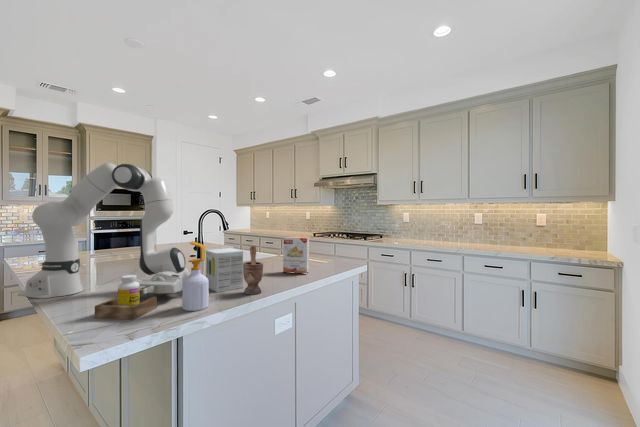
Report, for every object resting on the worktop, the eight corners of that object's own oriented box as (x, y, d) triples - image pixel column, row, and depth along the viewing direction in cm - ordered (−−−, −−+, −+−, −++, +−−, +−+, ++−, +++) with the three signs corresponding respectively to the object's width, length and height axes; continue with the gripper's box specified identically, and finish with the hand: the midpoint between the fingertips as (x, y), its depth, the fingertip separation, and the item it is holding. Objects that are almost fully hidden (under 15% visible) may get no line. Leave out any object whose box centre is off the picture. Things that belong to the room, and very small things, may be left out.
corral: (94, 317, 105) (94, 306, 105) (121, 306, 117) (121, 295, 117) (133, 319, 103) (133, 307, 103) (156, 307, 116) (156, 297, 116)
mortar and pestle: (238, 290, 142) (238, 246, 141) (256, 287, 146) (256, 245, 146) (246, 296, 132) (247, 249, 132) (265, 293, 137) (266, 248, 136)
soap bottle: (187, 304, 121) (187, 240, 120) (211, 303, 121) (211, 240, 121) (178, 311, 112) (178, 243, 111) (204, 311, 112) (204, 243, 112)
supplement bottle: (129, 315, 107) (129, 278, 107) (113, 314, 108) (113, 277, 108) (144, 309, 113) (144, 274, 113) (128, 308, 115) (128, 273, 115)
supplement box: (204, 286, 147) (204, 249, 147) (230, 282, 156) (231, 247, 156) (216, 292, 137) (216, 253, 137) (243, 287, 146) (243, 250, 146)
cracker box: (282, 273, 178) (283, 237, 178) (285, 271, 184) (286, 236, 184) (306, 274, 176) (307, 237, 175) (308, 272, 182) (309, 236, 181)
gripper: (139, 274, 132) (115, 282, 118) (185, 276, 130) (166, 284, 116) (139, 289, 132) (115, 298, 118) (185, 291, 130) (166, 300, 116)
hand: (140, 291), depth 117 cm, fingers closed
